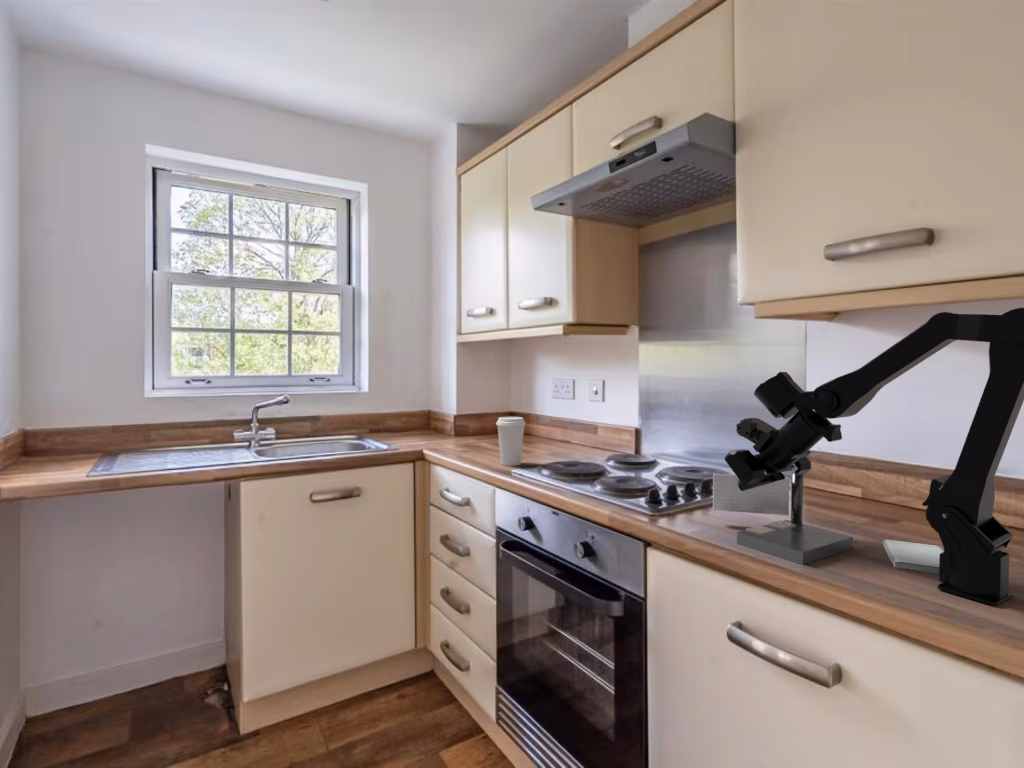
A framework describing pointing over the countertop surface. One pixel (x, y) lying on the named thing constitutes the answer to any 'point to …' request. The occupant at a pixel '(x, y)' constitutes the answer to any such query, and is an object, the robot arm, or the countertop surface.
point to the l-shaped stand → (795, 534)
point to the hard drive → (914, 555)
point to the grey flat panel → (750, 496)
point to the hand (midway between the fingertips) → (741, 488)
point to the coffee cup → (510, 440)
